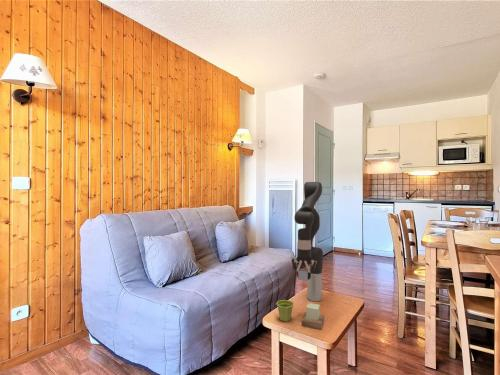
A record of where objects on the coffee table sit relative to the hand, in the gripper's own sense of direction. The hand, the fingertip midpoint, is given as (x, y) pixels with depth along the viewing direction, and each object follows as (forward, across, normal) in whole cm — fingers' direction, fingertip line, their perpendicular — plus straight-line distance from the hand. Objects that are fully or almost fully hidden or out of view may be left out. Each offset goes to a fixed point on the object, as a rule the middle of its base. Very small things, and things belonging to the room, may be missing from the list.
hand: (303, 278), depth 155 cm
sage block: (+19, +6, -4) cm, 20 cm away
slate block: (+1, 0, 0) cm, 1 cm away
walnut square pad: (+22, +6, -4) cm, 23 cm away
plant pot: (+22, -9, -5) cm, 25 cm away
